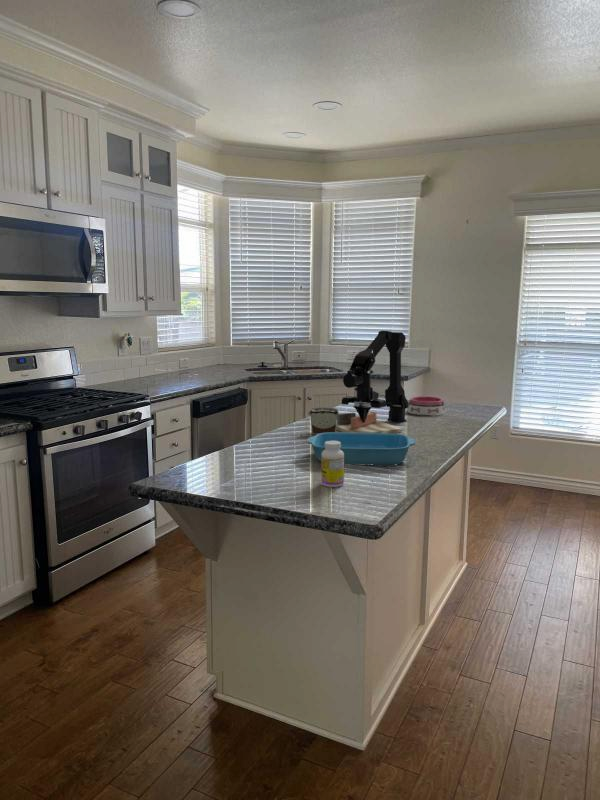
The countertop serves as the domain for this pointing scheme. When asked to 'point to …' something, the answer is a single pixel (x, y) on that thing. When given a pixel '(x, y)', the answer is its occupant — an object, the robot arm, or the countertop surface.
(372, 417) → the latch bar
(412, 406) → the dog bowl
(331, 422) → the food container
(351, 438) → the casserole dish
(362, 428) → the latch board
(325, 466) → the supplement bottle
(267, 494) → the countertop surface
